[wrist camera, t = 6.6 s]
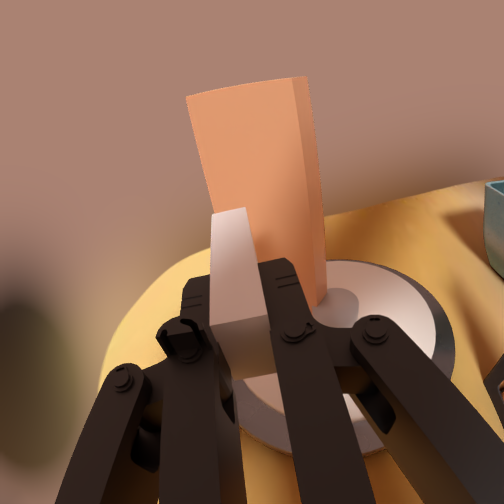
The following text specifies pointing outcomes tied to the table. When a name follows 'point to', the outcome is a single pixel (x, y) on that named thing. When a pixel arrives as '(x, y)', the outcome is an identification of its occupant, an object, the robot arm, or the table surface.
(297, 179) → the dial
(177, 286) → the table surface
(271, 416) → the base
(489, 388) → the ammunition clip
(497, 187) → the flower pot
